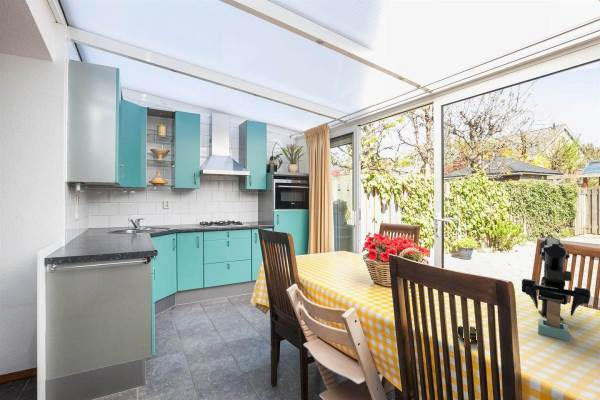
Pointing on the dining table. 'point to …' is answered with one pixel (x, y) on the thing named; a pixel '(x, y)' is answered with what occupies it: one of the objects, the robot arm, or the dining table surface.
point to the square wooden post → (553, 314)
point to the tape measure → (472, 333)
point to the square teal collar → (553, 330)
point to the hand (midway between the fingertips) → (553, 311)
